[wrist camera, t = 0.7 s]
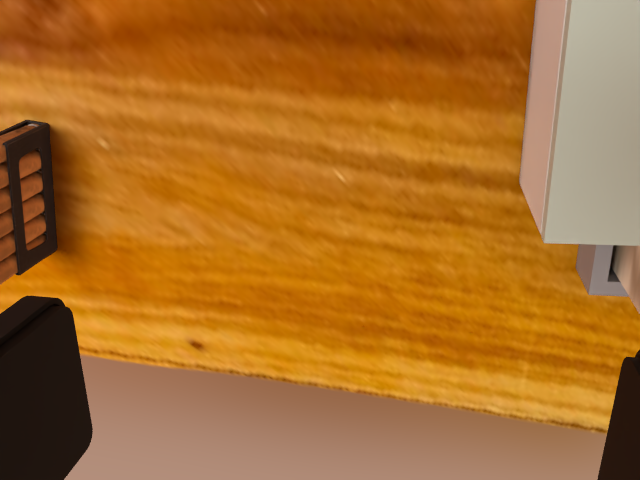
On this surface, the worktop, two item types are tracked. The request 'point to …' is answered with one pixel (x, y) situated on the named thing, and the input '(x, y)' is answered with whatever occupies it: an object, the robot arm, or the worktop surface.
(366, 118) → the worktop surface
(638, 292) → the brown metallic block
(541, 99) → the toolbox
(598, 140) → the toolbox lid
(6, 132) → the ammunition clip
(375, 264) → the worktop surface
